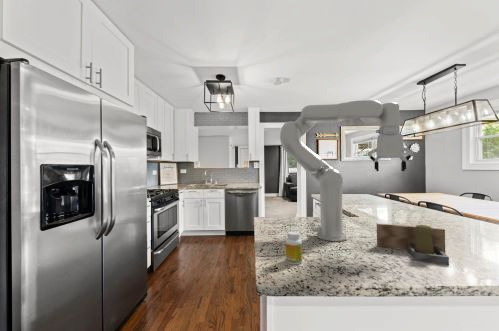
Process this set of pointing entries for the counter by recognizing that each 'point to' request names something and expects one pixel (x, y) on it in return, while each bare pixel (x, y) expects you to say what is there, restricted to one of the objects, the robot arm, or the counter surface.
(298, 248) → the supplement bottle
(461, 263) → the counter surface
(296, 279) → the counter surface
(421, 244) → the olive tall block
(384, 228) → the cleat board
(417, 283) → the counter surface
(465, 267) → the counter surface
